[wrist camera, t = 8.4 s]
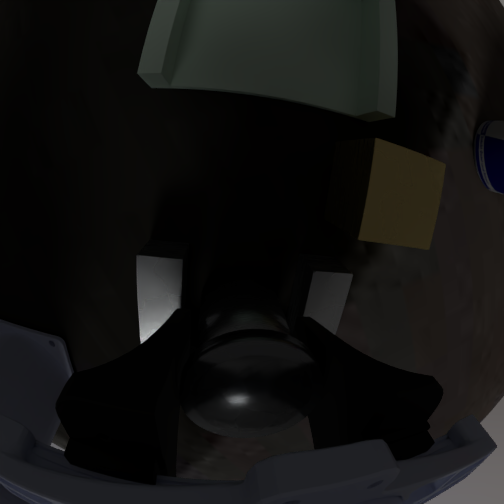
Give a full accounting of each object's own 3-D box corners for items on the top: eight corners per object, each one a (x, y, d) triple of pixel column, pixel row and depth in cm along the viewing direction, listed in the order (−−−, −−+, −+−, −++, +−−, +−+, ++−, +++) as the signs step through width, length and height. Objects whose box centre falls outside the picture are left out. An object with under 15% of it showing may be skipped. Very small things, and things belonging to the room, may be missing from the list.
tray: (151, 88, 11) (137, 73, 9) (188, -39, 8) (184, -63, 6) (368, 122, 12) (395, 117, 10) (373, -3, 10) (392, -19, 7)
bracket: (152, 355, 15) (145, 381, 13) (149, 239, 13) (136, 255, 11) (305, 363, 17) (315, 388, 14) (334, 257, 15) (353, 274, 12)
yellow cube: (323, 218, 14) (357, 239, 10) (335, 141, 13) (375, 137, 9) (385, 228, 15) (428, 249, 11) (398, 159, 13) (445, 164, 10)
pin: (192, 334, 15) (181, 434, 9) (196, 255, 14) (177, 338, 7) (274, 339, 16) (303, 434, 9) (290, 263, 14) (341, 344, 8)
